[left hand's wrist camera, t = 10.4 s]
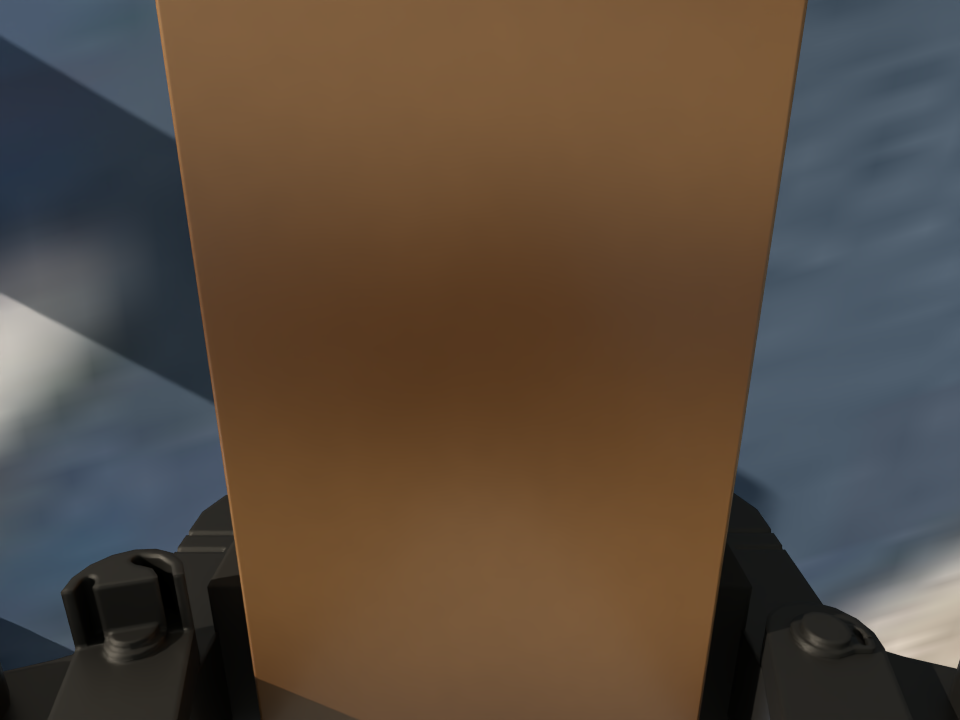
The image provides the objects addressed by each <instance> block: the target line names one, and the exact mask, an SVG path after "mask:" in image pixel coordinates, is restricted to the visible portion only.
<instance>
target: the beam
mask: <svg viewBox="0 0 960 720" xmlns="http://www.w3.org/2000/svg"><path fill="white" fill-rule="evenodd" d="M155 1H156V8H157V15H158V22H159V29H160V35H161V42H162V49H163V56H164V63H165V69H166V76H167V83H168V90H169V97H170V104H171V110H172V117H173V124H174V131H175V138H176V145H177V151H178V158H179V165H180V172H181V179H182V185H183V192H184V199H185V206H186V213H187V220H188V226H189V233H190V240H191V247H192V254H193V261H194V267H195V274H196V281H197V288H198V295H199V301H200V308H201V315H202V322H203V329H204V336H205V342H206V349H207V356H208V363H209V370H210V377H211V383H212V390H213V397H214V404H215V411H216V417H217V424H218V431H219V438H220V445H221V452H222V458H223V465H224V472H225V479H226V486H227V493H228V499H229V506H230V513H231V520H232V527H233V533H234V540H235V547H236V554H237V561H238V568H239V574H240V581H241V588H242V595H243V602H244V608H245V615H246V622H247V629H248V636H249V643H250V649H251V656H252V663H253V670H254V677H255V684H256V690H257V697H258V704H259V711H260V718H261V720H699V717H700V710H701V704H702V697H703V691H704V684H705V677H706V671H707V664H708V657H709V651H710V644H711V638H712V631H713V624H714V618H715V611H716V605H717V598H718V591H719V585H720V578H721V571H722V565H723V558H724V552H725V545H726V538H727V532H728V525H729V519H730V512H731V505H732V499H733V492H734V485H735V479H736V472H737V466H738V459H739V452H740V446H741V439H742V433H743V426H744V419H745V413H746V406H747V400H748V393H749V386H750V380H751V373H752V366H753V360H754V353H755V347H756V340H757V333H758V327H759V320H760V314H761V307H762V300H763V294H764V287H765V280H766V274H767V267H768V261H769V254H770V247H771V241H772V234H773V228H774V221H775V214H776V208H777V201H778V194H779V188H780V181H781V175H782V168H783V161H784V155H785V148H786V142H787V135H788V128H789V122H790V115H791V108H792V102H793V95H794V89H795V82H796V75H797V69H798V62H799V56H800V49H801V42H802V36H803V29H804V22H805V16H806V9H807V3H808V0H155Z"/></svg>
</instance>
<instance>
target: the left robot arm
mask: <svg viewBox="0 0 960 720" xmlns="http://www.w3.org/2000/svg"><path fill="white" fill-rule="evenodd" d="M61 595H62V599H63V603H64V607H65V610H66V614H67V618H68V622H69V626H70V629H71V633H72V637H73V641H74V645H75V648H76V650H75V652H74V654H73V655H69V656H66V657H63V658H59V659H56V660H52V661H47V662H43V663H39V664H34V665H30V666H26V667H21V668H17V669H13V670H8V671H4V672H3V669H2V666H1V663H0V720H261V718H260V711H259V704H258V697H257V690H256V684H255V677H254V670H253V663H252V656H251V649H250V643H249V636H248V629H247V622H246V615H245V608H244V602H243V595H242V588H241V581H240V574H239V568H238V561H237V554H236V547H235V540H234V533H233V527H232V520H231V513H230V506H229V499H228V495H225V496H224V497H223V498H221V499H220V500H218V501H217V502H216V503H214V504H213V505H211V506H210V507H209V508H207V509H206V510H204V511H203V512H202V513H201V515H200V516H199V518H198V519H197V521H196V522H195V523H194V525H193V526H192V528H191V529H190V531H189V535H186V537H185V538H184V539H183V541H182V542H181V544H180V545H179V547H178V551H177V552H175V553H174V554H173V553H171V552H167V551H163V550H159V549H139V550H132V551H128V552H123V553H119V554H115V555H112V556H109V557H107V558H105V559H103V560H100V561H98V562H96V563H94V564H91V565H89V566H88V567H87V568H85V569H84V570H82V571H81V572H80V573H78V574H77V575H75V576H74V577H73V578H72V579H71V580H70V581H69V583H68V584H67V585H66V586H65V588H64V589H63V590H62V592H61ZM699 720H960V661H959V664H958V667H957V669H956V668H951V667H947V666H942V665H938V664H934V663H929V662H925V661H920V660H916V659H912V658H907V657H903V656H900V655H897V654H893V653H890V652H886V651H885V648H884V647H883V645H882V644H881V642H880V641H879V639H878V638H877V636H876V635H875V633H874V632H872V631H871V630H870V629H869V628H868V627H866V626H865V625H864V624H863V623H861V622H860V621H859V620H858V619H856V618H854V617H852V616H850V615H848V614H846V613H844V612H842V611H840V610H838V609H836V608H833V607H830V606H826V605H823V604H822V602H821V601H820V600H819V598H818V597H817V595H816V594H815V592H814V591H813V589H812V588H811V587H810V585H809V584H808V582H807V581H806V579H805V578H804V576H803V575H802V574H801V572H800V571H799V569H798V568H797V566H796V565H795V563H794V562H793V561H792V559H791V558H790V556H789V555H788V553H787V552H786V550H783V549H782V545H781V543H780V542H779V540H778V539H777V537H776V536H775V534H774V533H771V529H770V527H769V526H768V524H767V523H766V521H765V520H764V519H763V517H762V516H761V514H760V513H759V511H758V510H757V509H756V508H754V507H753V506H751V505H750V504H749V503H747V502H746V501H744V500H743V499H742V498H740V497H739V496H737V495H736V494H735V493H733V499H732V505H731V512H730V519H729V525H728V532H727V538H726V545H725V552H724V558H723V565H722V571H721V578H720V585H719V591H718V598H717V605H716V611H715V618H714V624H713V631H712V638H711V644H710V651H709V657H708V664H707V671H706V677H705V684H704V691H703V697H702V704H701V710H700V717H699Z"/></svg>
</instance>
